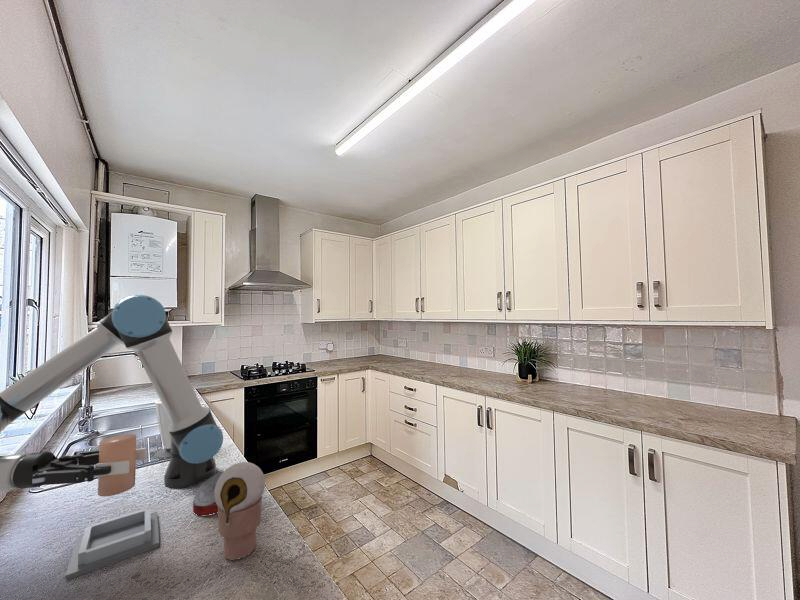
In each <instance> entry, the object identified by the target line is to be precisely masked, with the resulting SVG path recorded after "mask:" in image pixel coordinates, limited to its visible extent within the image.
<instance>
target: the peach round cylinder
mask: <svg viewBox="0 0 800 600" xmlns="http://www.w3.org/2000/svg"><path fill="white" fill-rule="evenodd" d="M136 449H137V435H136V434H133V433H128V434H127V433H125V434H119V435H115V436H112V437H107V438H103V440H100V441H99V447H98V450H99V463H107V462H117V461H127V460H130V462H129V472H128V473H124V474H115V475H105V476H97V477H98V480H97V495H98V496H99V497H113V496H117V495H120V494H123V493H126V492H127V491H129V490H131V489H132V488H134V487H135V486H136V472H137V471H136V469H137V468H136V467H137V466H136V463H137V460H136Z"/></svg>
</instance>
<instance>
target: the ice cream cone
mask: <svg viewBox="0 0 800 600" xmlns="http://www.w3.org/2000/svg"><path fill="white" fill-rule="evenodd" d="M222 472H223V473H222V474H221V476H220V477H219V479H218V481H217V483H216V486H215V490H214V498H215V502H216V504H217V506H218V513H217V515H218V533H219V535H220V536H221V537H223V556H224V558H225V557H226V558H227V559H230V560H229V561H231V560H233V561H236V560H235V559H239V558H242V557H244V556H247V555H248V554H249V553H251V552H252V551H253V550H254V548H255V549H256V547H257V532H256V531H257V528H258V527H259V526H260V524H261V520H262V504H263V503H262V500H263V494H264V491H265V487H266V486H265V485H266V480H265V479H266V478H265V475H264V473H263V472H264V471H262V469H261V468H260V467H259V466H258V465H256V464H255V463H254V462H253V463H252V462H249V461H248V462H247V461H243V462H241V461H240V462H236V463H235V464H232V465H231V466H229V467H227V468H226V469H225V470H223V471H222ZM255 546H256V547H255ZM254 551H255V550H254ZM254 551H253V552H254ZM253 552H252V553H253ZM252 553H251V554H252ZM248 556H249V555H248ZM248 556H247V557H248ZM226 558H225V559H226ZM227 559H226V560H227ZM242 559H243V558H242Z"/></svg>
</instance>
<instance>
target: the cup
mask: <svg viewBox="0 0 800 600" xmlns="http://www.w3.org/2000/svg"><path fill="white" fill-rule="evenodd" d="M154 405H155V411H156V412H155V413H156V420H157V424H158V430H159V433H160V437H161V441H162V445H163V447H164V448H163V449H161V450H158V451H157V452H156V453H154V454H153V457H154V458H156V459H167V458H168V459H169V458H171V434H170V432H169V431H168V428H169V426H170V424H171V420H170V418H169V416H168V414H167V412H166V410H165V409H164V407H163V405H162V403H161V401H160V399H159V398H158V399H157V400H155V401H154Z"/></svg>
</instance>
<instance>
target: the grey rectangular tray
mask: <svg viewBox="0 0 800 600" xmlns="http://www.w3.org/2000/svg"><path fill="white" fill-rule="evenodd" d="M159 532H160V531H159V520H158V511H155V512H151V507H150V508H146V509H145V508H143V509H139V510H136V511H133V512H130V513H129V512H128V513H126V514H123V515H120V516H116V517H113V518H109V519H106V520H102V521H100V522H95V523H93V524H92V525H89V526H86V527H85V528H84V531H83V534H80V535H77V537H76V541H75V543H74V547H73V550H72V553H71V557H70V560H69V563H68V567H67V570H66V573H65V581H69V580H70V579H73V578H75V577H79V576H82V575H84V574H87V573H90V572H92V571H96V570H99V569H101V568H103V567H106V566H109V565H113V564H115V563H117V562H120V561H124V560H127V559H130V558H132V557H134V556H137V555H141V554H143V553H145V552H148V551H151V550H153V549H157V548H159V547H160V537H159V536H160V534H159Z"/></svg>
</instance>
